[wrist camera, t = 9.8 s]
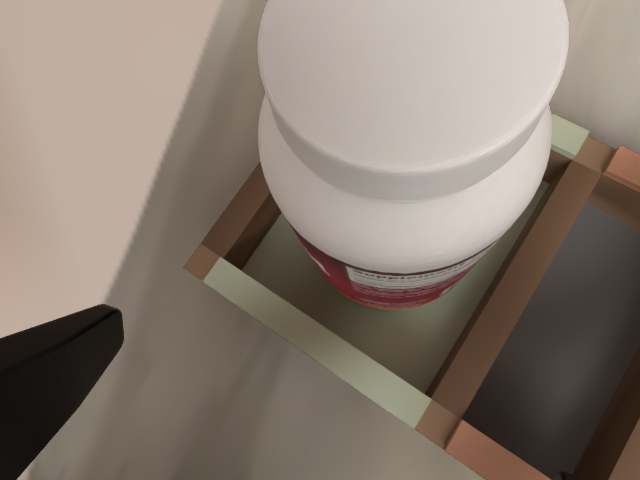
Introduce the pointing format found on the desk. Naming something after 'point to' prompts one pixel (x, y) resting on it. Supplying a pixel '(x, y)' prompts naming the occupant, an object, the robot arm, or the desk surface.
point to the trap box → (479, 322)
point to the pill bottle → (406, 133)
